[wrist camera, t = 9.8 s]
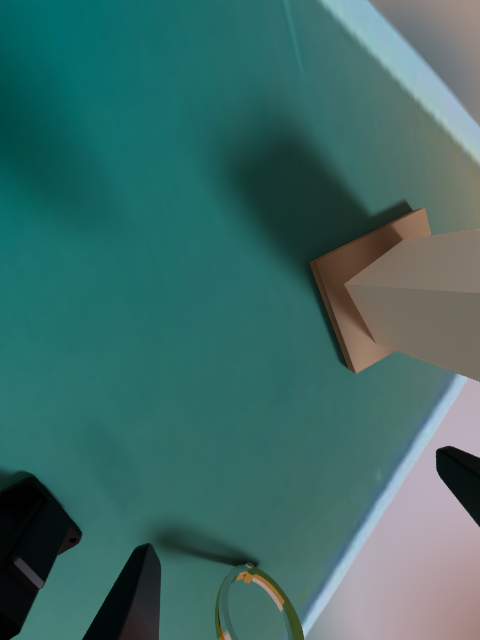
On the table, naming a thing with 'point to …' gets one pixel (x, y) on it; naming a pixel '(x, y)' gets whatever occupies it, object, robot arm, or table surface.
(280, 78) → the table surface
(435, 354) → the sleeve
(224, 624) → the ring
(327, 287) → the post stand
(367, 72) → the table surface
